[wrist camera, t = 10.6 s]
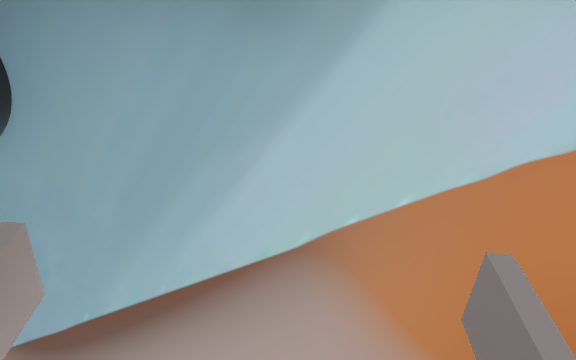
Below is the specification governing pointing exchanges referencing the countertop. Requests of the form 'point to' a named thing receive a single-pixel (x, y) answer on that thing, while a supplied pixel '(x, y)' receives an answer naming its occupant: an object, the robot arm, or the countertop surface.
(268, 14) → the countertop surface
